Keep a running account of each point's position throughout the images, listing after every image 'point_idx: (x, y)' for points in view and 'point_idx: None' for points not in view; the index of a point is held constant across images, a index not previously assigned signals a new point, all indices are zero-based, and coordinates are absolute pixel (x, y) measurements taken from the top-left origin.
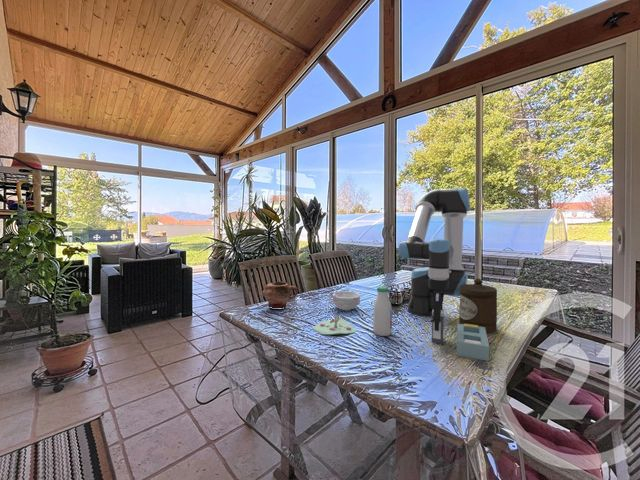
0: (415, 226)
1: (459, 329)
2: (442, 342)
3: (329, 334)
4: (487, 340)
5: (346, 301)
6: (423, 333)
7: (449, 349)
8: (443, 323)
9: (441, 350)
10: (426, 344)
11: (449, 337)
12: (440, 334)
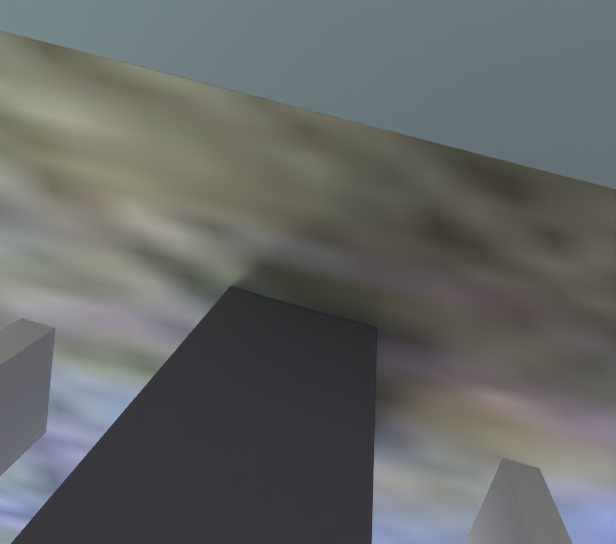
0: None
1: (137, 5)
2: (376, 341)
3: None
4: None
5: None
6: (61, 482)
7: (566, 278)
8: (151, 487)
9: (609, 396)
10: (422, 527)
11: (91, 167)
12: (567, 540)
